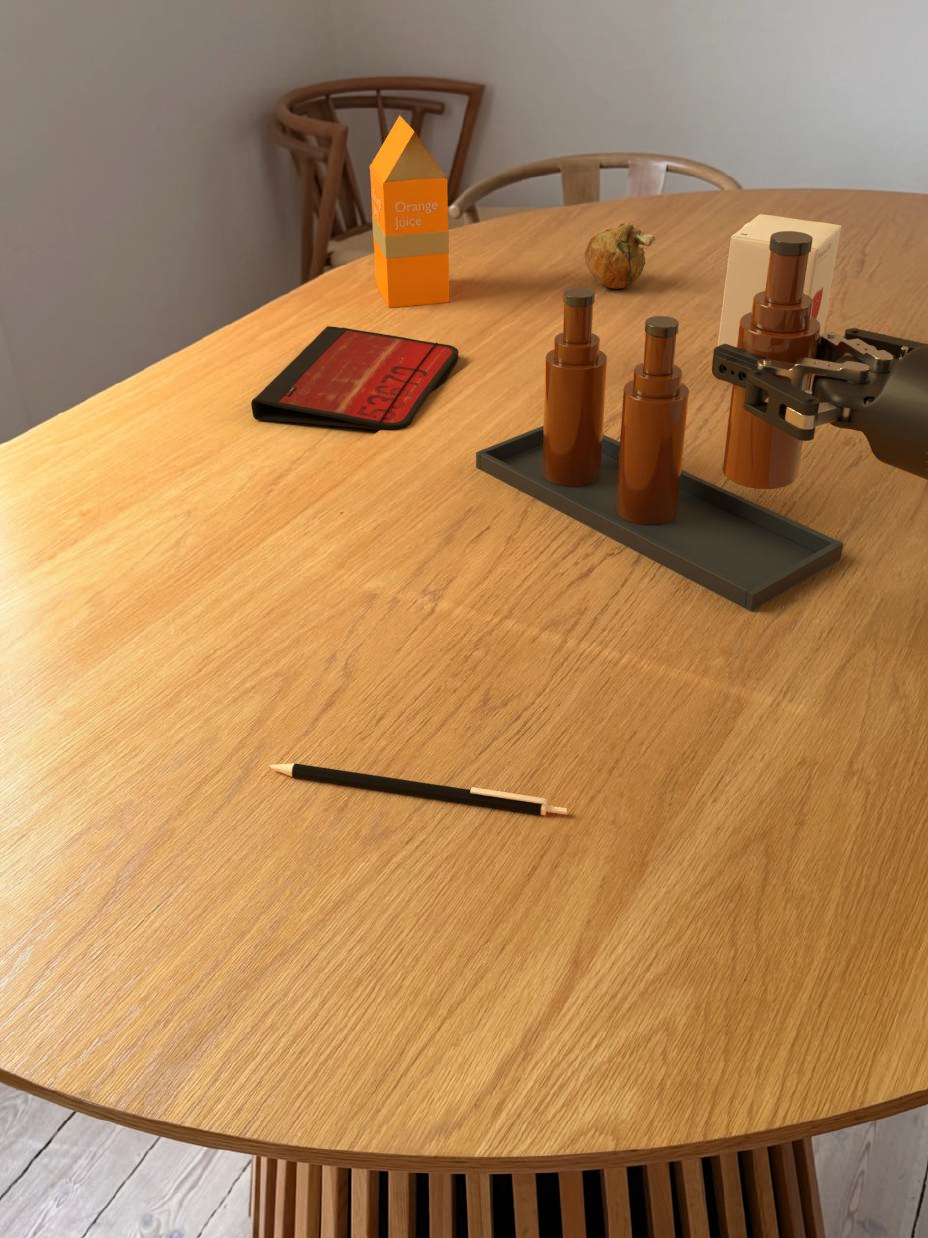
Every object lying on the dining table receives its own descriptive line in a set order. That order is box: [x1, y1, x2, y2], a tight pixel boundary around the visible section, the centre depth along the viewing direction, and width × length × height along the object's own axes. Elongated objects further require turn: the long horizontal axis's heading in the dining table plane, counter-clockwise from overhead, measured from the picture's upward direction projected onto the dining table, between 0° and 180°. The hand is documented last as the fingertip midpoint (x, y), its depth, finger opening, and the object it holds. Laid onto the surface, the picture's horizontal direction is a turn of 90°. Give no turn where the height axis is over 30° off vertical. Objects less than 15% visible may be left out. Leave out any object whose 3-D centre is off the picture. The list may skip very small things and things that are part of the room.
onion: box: [583, 222, 656, 290], centre depth 149 cm, size 8×8×8 cm
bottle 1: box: [542, 286, 608, 487], centre depth 104 cm, size 5×5×17 cm
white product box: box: [717, 213, 842, 347], centre depth 124 cm, size 9×9×15 cm
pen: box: [267, 762, 568, 816], centre depth 75 cm, size 1×19×1 cm, turn 77°
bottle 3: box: [722, 231, 821, 490], centre depth 81 cm, size 5×5×17 cm
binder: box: [250, 325, 460, 431], centre depth 126 cm, size 16×2×21 cm
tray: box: [475, 425, 844, 612], centre depth 103 cm, size 31×11×2 cm, turn 41°
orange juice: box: [368, 115, 450, 309], centre depth 144 cm, size 8×9×20 cm
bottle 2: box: [615, 315, 690, 525], centre depth 98 cm, size 5×5×17 cm
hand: (744, 347), depth 83 cm, fingers closed on bottle 3, 5 cm apart
